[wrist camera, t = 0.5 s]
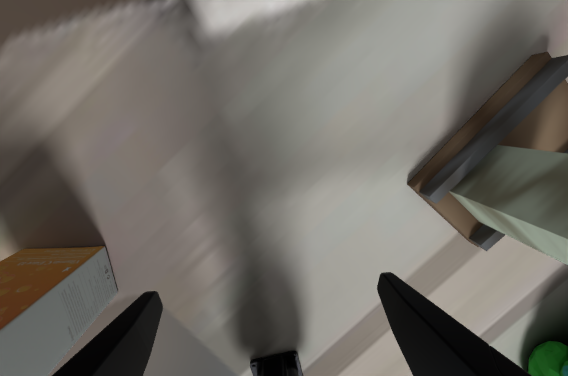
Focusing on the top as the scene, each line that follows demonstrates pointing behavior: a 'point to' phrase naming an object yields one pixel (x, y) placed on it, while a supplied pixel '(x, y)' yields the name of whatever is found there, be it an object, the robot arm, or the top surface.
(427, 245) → the top surface
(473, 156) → the walnut chute
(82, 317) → the small box
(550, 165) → the sage block
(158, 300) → the robot arm
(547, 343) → the brain model
